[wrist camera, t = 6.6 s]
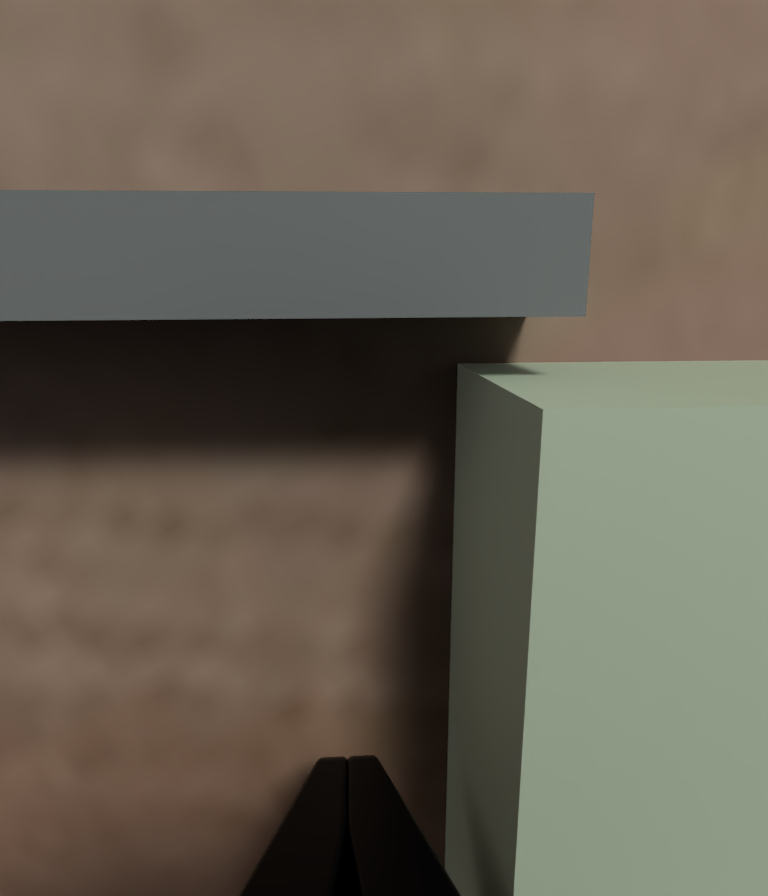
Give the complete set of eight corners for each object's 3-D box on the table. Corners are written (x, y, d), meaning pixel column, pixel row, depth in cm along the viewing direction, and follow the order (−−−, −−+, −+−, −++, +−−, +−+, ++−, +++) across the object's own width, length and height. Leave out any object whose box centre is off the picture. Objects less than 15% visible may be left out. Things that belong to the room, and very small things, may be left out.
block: (438, 987, 12) (486, 1334, 8) (453, 361, 9) (543, 410, 5) (737, 964, 12) (927, 1285, 8) (847, 356, 9) (1225, 399, 5)
